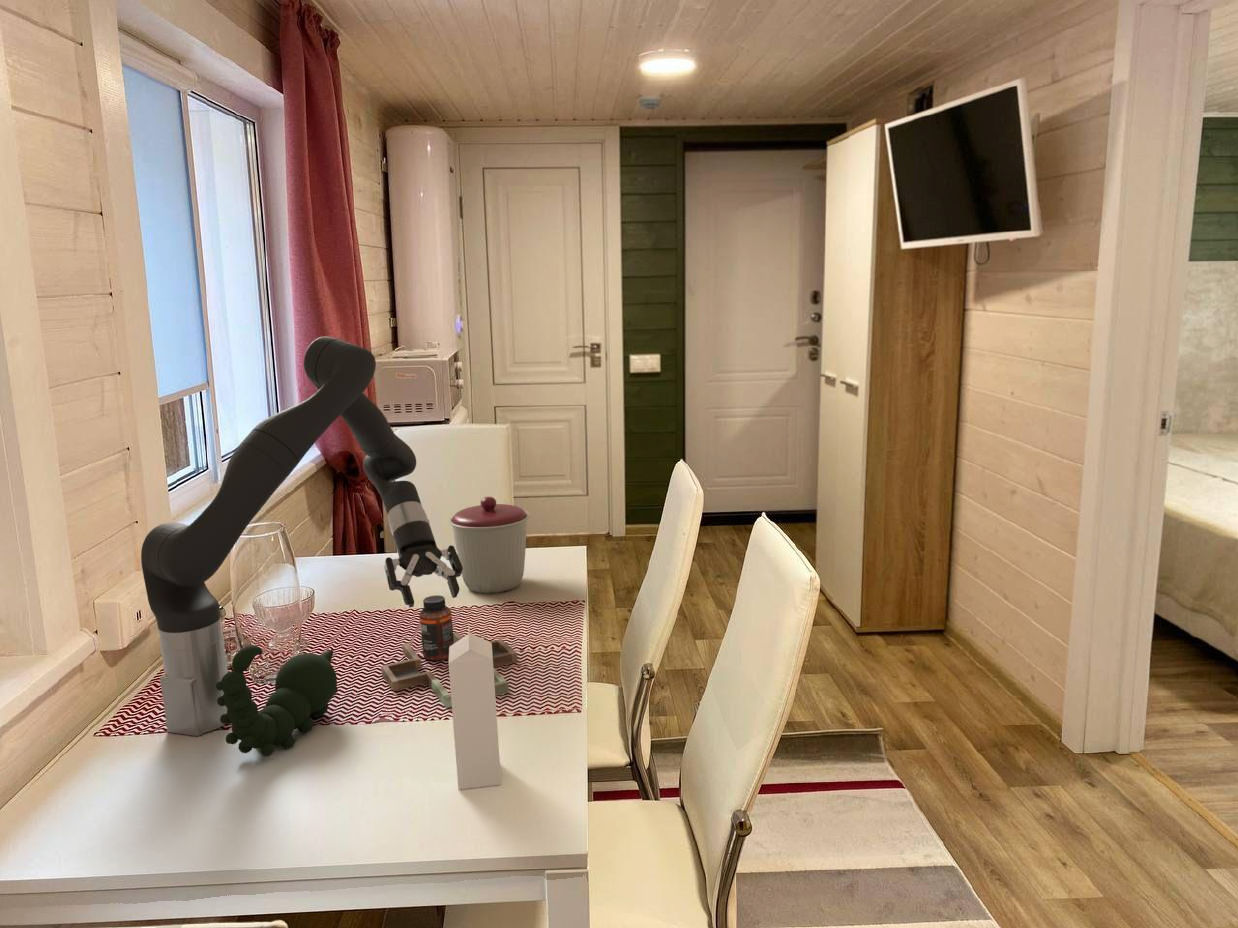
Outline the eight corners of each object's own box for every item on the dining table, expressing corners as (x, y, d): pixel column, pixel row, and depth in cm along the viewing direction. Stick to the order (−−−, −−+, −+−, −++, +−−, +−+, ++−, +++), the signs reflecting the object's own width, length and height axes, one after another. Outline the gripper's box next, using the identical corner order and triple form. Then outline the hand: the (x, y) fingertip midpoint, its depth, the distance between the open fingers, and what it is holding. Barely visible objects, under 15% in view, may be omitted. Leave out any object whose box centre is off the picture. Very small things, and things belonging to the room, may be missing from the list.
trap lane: (371, 659, 175) (370, 650, 175) (487, 634, 186) (486, 625, 185) (410, 716, 152) (409, 706, 152) (541, 683, 162) (540, 674, 162)
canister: (543, 591, 209) (538, 500, 205) (463, 604, 203) (456, 510, 199) (521, 569, 226) (516, 484, 221) (446, 580, 219) (440, 493, 215)
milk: (499, 763, 136) (491, 621, 132) (501, 785, 131) (492, 636, 126) (457, 768, 136) (447, 624, 131) (457, 790, 130) (446, 640, 125)
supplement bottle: (458, 649, 179) (454, 593, 177) (450, 662, 173) (445, 604, 171) (428, 649, 179) (423, 593, 177) (418, 661, 174) (413, 604, 171)
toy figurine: (270, 785, 136) (363, 696, 159) (247, 669, 131) (347, 594, 153) (217, 777, 139) (316, 690, 162) (192, 663, 133) (298, 590, 156)
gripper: (442, 533, 192) (466, 602, 184) (373, 546, 185) (394, 617, 178) (448, 513, 186) (472, 583, 178) (377, 525, 180) (399, 599, 172)
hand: (433, 600), depth 178 cm, fingers open, 8 cm apart
